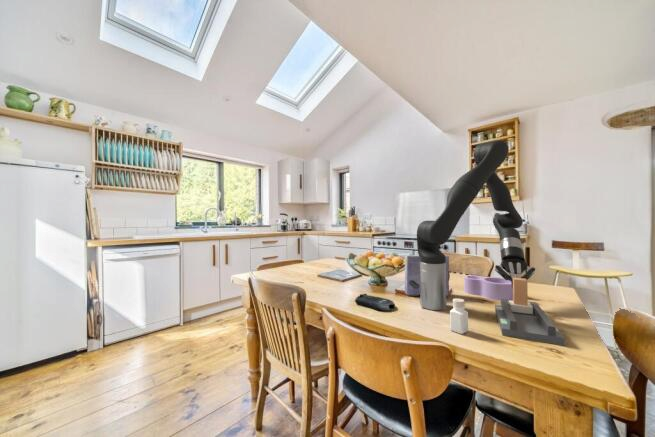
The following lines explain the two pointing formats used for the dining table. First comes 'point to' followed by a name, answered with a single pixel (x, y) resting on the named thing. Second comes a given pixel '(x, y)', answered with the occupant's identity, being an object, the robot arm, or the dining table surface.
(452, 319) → the salt shaker
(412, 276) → the cake pan box
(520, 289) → the switch lever
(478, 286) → the lavender double ring holder
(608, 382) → the dining table surface
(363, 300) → the electronic device
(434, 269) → the robot arm
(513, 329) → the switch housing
